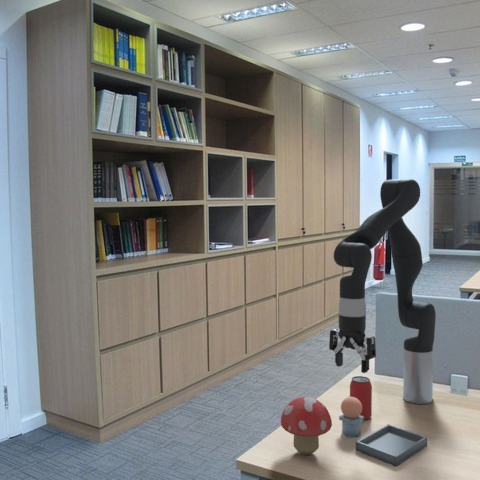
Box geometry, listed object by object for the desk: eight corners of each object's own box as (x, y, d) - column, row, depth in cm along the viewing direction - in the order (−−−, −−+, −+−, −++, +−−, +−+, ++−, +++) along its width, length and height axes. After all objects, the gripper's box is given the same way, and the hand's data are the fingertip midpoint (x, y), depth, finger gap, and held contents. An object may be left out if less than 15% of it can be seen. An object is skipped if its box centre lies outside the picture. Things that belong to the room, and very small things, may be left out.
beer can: (372, 421, 158) (372, 383, 157) (349, 420, 159) (350, 381, 159) (371, 413, 164) (371, 376, 164) (349, 411, 166) (349, 374, 165)
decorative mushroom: (331, 468, 130) (332, 409, 129) (278, 464, 132) (278, 406, 131) (331, 444, 143) (331, 390, 142) (283, 441, 146) (282, 388, 145)
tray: (387, 432, 150) (388, 424, 150) (427, 446, 142) (427, 437, 141) (355, 450, 139) (355, 441, 139) (396, 466, 131) (396, 456, 131)
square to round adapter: (349, 427, 154) (349, 411, 153) (364, 433, 150) (364, 416, 150) (338, 433, 150) (338, 416, 150) (353, 439, 146) (353, 421, 146)
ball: (348, 412, 154) (349, 392, 154) (366, 417, 150) (366, 397, 149) (336, 417, 150) (336, 397, 150) (354, 423, 146) (354, 402, 145)
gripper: (381, 314, 145) (380, 371, 146) (339, 307, 156) (339, 361, 157) (366, 318, 140) (365, 377, 141) (323, 311, 150) (323, 366, 151)
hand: (351, 369), depth 149 cm, fingers open, 8 cm apart
